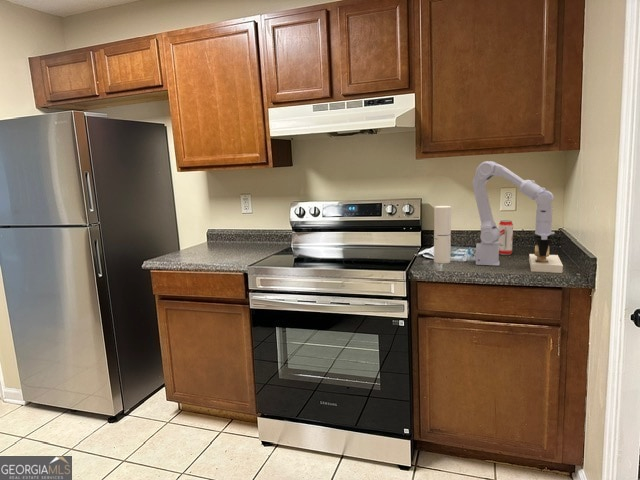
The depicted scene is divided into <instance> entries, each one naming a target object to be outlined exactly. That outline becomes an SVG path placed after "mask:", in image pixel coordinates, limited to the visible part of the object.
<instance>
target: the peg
mask: <svg viewBox="0 0 640 480" xmlns="http://www.w3.org/2000/svg"><path fill="white" fill-rule="evenodd" d="M534 254H535V256H537V262H542V263H546V257H548V256H549V255H550V245H549V246H548V249H547V253H546V256H540V254H539V247H538V244H535V246H534Z"/></svg>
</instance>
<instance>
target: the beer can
mask: <svg viewBox="0 0 640 480" xmlns="http://www.w3.org/2000/svg"><path fill="white" fill-rule="evenodd" d="M498 229H499V231H500V237H499V239H498V242H499V256H500V255H501V256H510V255H512V253H513V241H514V240H513V236H514V235H513V231H514V224H513V220H510V219H509V220H508V219H505V220H500V221H499V223H498Z"/></svg>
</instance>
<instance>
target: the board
mask: <svg viewBox="0 0 640 480" xmlns="http://www.w3.org/2000/svg"><path fill="white" fill-rule="evenodd" d="M528 258H529V259H528V262H529V266H530V271H531V272H537V273H538V272H539V273H553V274H555V273H556V274H558V273H559V274H563V268H564V265H563V263H562V261H561V259H560V257H559V255H558V254H549V256H548V257H546V263H542V262H537V256H535V253H529V256H528Z"/></svg>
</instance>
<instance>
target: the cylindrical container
mask: <svg viewBox="0 0 640 480" xmlns="http://www.w3.org/2000/svg"><path fill="white" fill-rule="evenodd" d="M433 208H434V209H433V210H434V211H433V213H434V214H433V215H434V216H433V218H434V219H433V221H434V222H433V223H434V225H433V230H434V231H433V263H435V264H449V263H451V245H452V244H451V240H452V239H451V238H452V237H451V235H452V231H451V230H452V206H450V205H436V206H433Z"/></svg>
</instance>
